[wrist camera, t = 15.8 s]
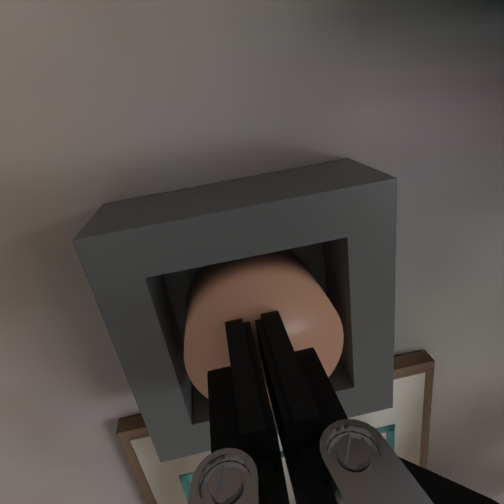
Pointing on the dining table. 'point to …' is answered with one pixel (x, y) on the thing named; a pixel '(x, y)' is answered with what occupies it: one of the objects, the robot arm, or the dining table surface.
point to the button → (257, 311)
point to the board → (182, 469)
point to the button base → (237, 247)
